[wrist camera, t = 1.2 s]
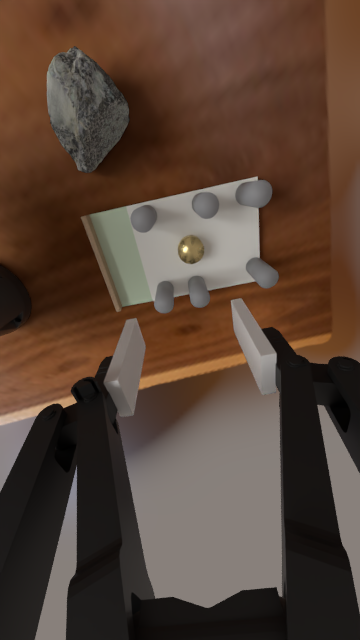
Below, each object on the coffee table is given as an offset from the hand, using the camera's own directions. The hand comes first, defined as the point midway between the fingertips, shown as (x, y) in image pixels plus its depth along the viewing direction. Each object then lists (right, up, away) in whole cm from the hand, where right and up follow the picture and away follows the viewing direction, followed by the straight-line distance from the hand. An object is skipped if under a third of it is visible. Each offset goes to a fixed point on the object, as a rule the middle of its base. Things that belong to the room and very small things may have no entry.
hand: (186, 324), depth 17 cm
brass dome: (+1, +13, +22) cm, 26 cm away
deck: (-1, +13, +24) cm, 27 cm away
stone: (-12, +29, +15) cm, 35 cm away
